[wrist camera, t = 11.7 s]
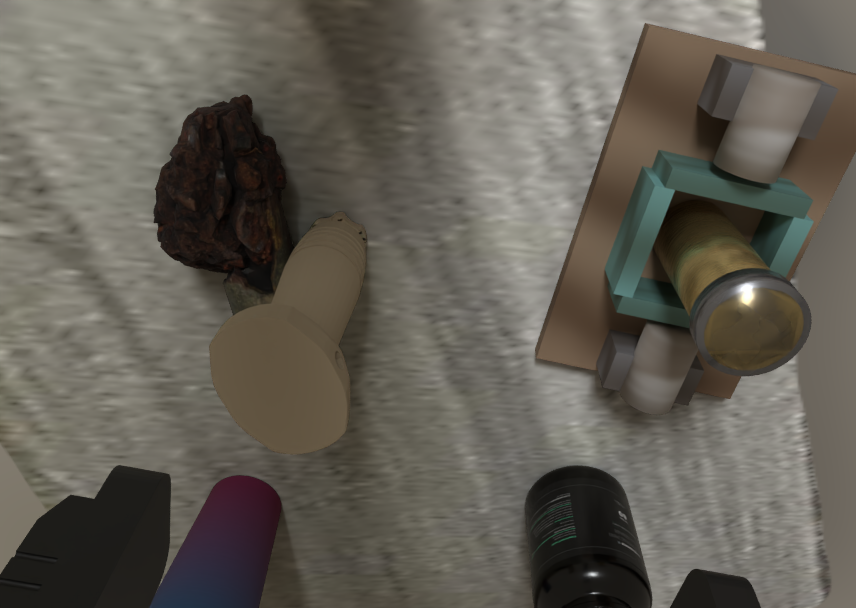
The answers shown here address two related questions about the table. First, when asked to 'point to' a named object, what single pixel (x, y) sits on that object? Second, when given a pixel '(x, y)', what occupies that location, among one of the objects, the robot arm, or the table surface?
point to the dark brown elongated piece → (226, 202)
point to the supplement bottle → (584, 542)
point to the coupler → (730, 292)
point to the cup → (225, 549)
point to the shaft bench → (693, 180)
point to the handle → (295, 345)
